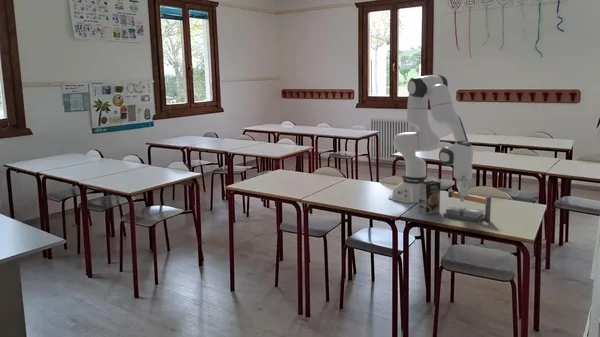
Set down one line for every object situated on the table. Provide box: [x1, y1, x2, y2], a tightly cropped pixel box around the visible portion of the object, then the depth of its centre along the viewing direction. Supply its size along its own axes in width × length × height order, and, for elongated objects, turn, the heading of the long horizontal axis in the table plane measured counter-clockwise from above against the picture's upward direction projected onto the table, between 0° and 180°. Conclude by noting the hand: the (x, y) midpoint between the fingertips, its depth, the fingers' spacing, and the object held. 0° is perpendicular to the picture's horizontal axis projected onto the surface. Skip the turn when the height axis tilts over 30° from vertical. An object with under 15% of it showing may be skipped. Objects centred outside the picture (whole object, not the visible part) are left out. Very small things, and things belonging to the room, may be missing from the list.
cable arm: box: [448, 189, 492, 222], centre depth 256 cm, size 24×3×12 cm, turn 38°
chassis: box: [442, 204, 485, 223], centre depth 255 cm, size 18×10×4 cm, turn 51°
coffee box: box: [418, 180, 441, 216], centre depth 264 cm, size 9×6×16 cm
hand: (461, 200), depth 255 cm, fingers closed
